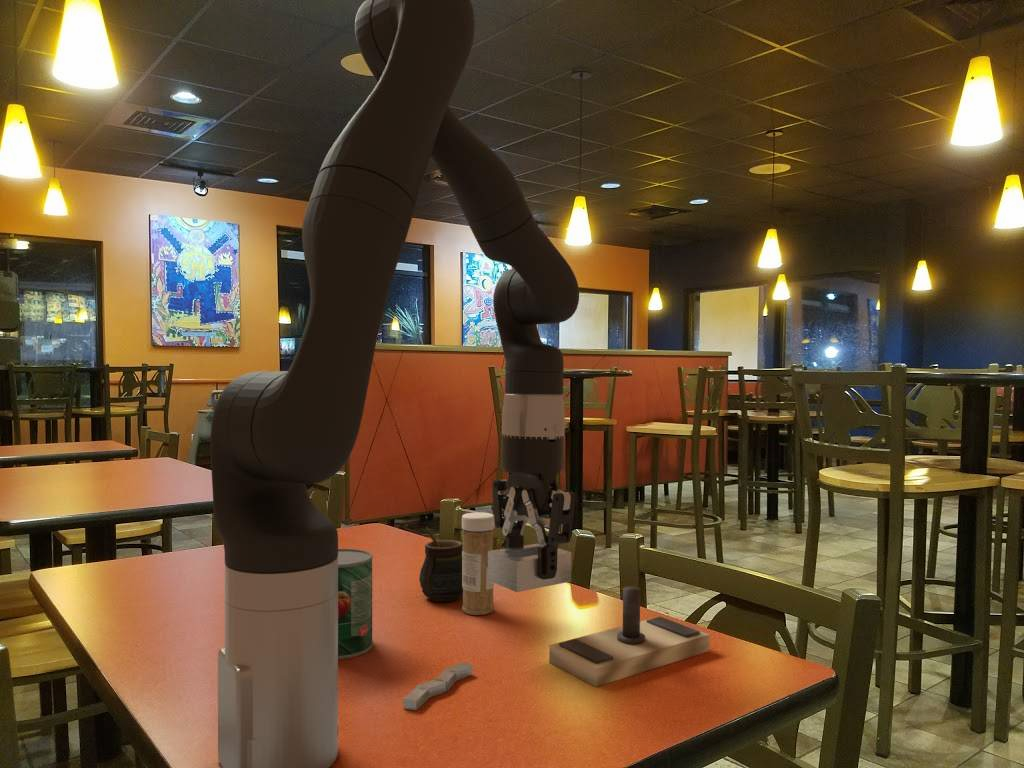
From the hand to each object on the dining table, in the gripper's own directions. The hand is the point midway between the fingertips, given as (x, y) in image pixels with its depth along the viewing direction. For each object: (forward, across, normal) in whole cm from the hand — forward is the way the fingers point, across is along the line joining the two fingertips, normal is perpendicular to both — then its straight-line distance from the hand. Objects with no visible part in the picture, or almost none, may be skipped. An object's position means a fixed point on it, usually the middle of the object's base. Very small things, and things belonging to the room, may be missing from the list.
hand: (530, 571), depth 90 cm
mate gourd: (+9, -23, +2) cm, 25 cm away
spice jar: (+9, -15, +2) cm, 18 cm away
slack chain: (+10, +4, -14) cm, 18 cm away
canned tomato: (+10, -13, -18) cm, 25 cm away
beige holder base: (+9, +9, +9) cm, 15 cm away
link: (+1, 0, 0) cm, 1 cm away
